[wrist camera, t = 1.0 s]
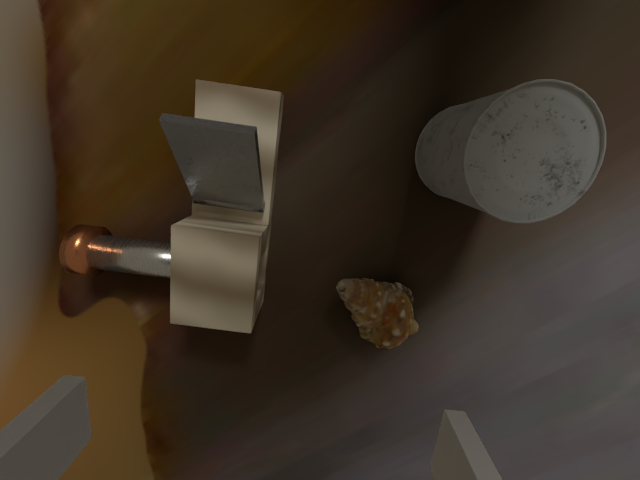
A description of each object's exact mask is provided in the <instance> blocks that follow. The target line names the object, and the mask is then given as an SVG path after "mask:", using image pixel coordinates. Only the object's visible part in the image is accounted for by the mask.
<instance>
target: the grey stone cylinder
mask: <svg viewBox="0 0 640 480" xmlns="http://www.w3.org/2000/svg"><path fill="white" fill-rule="evenodd" d="M605 150H606V128H605V124H604V119H603V115H602V114H601V112H600V110H599V108H598V106H597V104H596V102H595V101H594V100H593V99H592V98H591V97H590V96H589V95H588V94H587V93H586V92H585V91H584V90H582V89H580V88H578V87H577V86H575V85H573V84H571V83H568V82H564V81H560V80H556V79H538V80H534V81H530V82H526V83H522V84H519V85H517V86H515V87H513V88H511V89H508V90H505V91H502V92H499V93H496V94H492V95H489V96H486V97H483V98H480V99H477V100H474V101H470V102H467V103H464V104H460V105H456V106H452V107H449V108H447V109H445V110H443V111H441V112H439V113H438V114H437V115H436V116H434V117H433V118H432V119H431V120H430V121H429V122H428V123H427V125H426V126H425V127H424V129H423V130H422V132H421V134H420V136H419V138H418V142H417V145H416V150H415V163H416V169H417V172H418V174H419V177H420V179H421V180H422V181H423V183H424V184H425V186H427V187H428V188H429V189H430V190H431V191H432V192H434V193H436V194H438V195H440V196H443V197H447V198H450V199H452V200H455V201H457V202H460V203H462V204H465V205H468V206H470V207H473V208H475V209H478V210H480V211H483V212H485V213H487V214H489V215H491V216H493V217H495V218H497V219H499V220H503V221H507V222H511V223H533V222H538V221H542V220H546V219H548V218H551V217H553V216H555V215H558V214H560V213H561V212H563V211H564V210H566V209H567V208H569V207H570V206H572V205H573V204H574V203H575V202H576V201H577V200H578V199H580V198H581V197H582V196H583V195H584V194H585V193H586V191H587V190H588V188H589V187H590V186H591V184H592V183H593V181H594V180H595V178H596V176H597V174H598V172H599V170H600V167H601V165H602V163H603V158H604V154H605Z"/></svg>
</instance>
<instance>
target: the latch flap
mask: <svg viewBox="0 0 640 480" xmlns="http://www.w3.org/2000/svg"><path fill="white" fill-rule="evenodd" d="M159 122H160V124H161V126H162V129H163V131H164V133H165V136H166V138H167V140H168V143H169V145H170V147H171V150H172V152H173V154H174V157H175V159H176V161H177V164H178V166H179V168H180V170H181V173H182V175H183V177H184V180H185V182H186V184H187V187H188V189H189V191H190V194H191V196H192V200H193V203H194V204H201V205H208V206H216V207H223V208H230V209H238V210H245V211H252V212H259V213H264V210H265V201H264V192H263V183H262V173H261V164H260V154H259V144H258V135H257V127H255V126H248V125H242V124H235V123H228V122H221V121H214V120H207V119H200V118H193V117H186V116H179V115H172V114H166V113H162V115H161V117H160V119H159Z"/></svg>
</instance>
